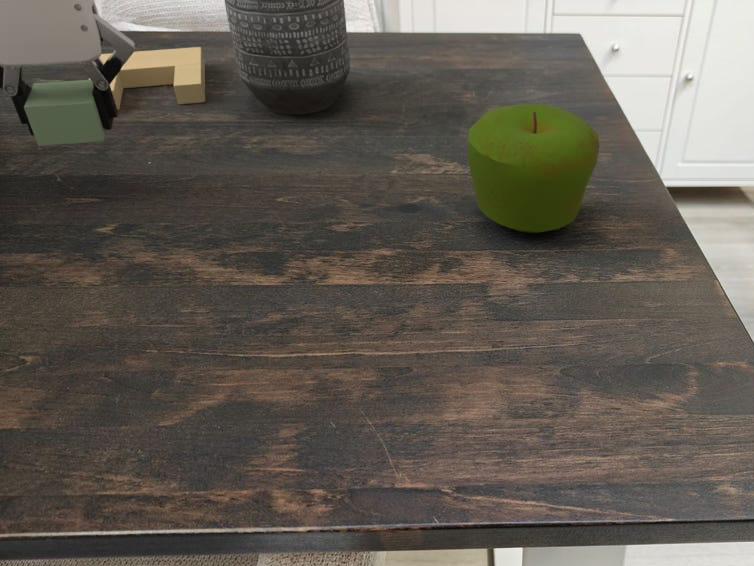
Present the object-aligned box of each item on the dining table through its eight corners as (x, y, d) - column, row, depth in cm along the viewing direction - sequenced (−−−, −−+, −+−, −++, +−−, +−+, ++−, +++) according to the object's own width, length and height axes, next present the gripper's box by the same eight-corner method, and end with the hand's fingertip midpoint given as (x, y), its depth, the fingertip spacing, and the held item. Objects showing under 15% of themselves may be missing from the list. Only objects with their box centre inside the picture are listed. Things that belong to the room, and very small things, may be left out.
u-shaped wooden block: (91, 112, 95) (84, 93, 93) (101, 72, 105) (95, 54, 103) (205, 102, 98) (201, 83, 96) (204, 64, 108) (201, 46, 106)
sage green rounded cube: (38, 146, 73) (23, 107, 70) (47, 121, 77) (33, 82, 75) (104, 141, 74) (91, 102, 72) (109, 116, 79) (97, 79, 76)
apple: (448, 232, 75) (446, 124, 67) (495, 179, 83) (499, 78, 76) (565, 262, 71) (577, 152, 64) (603, 204, 80) (618, 101, 72)
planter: (227, 94, 100) (201, -28, 90) (322, 72, 106) (308, -44, 96) (273, 132, 91) (250, 2, 81) (373, 105, 98) (363, -18, 88)
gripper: (117, -85, 68) (164, 105, 80) (-97, -82, 64) (-14, 118, 76) (110, -66, 63) (162, 135, 75) (-123, -61, 59) (-29, 150, 71)
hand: (73, 125), depth 76 cm, fingers closed on sage green rounded cube, 6 cm apart
